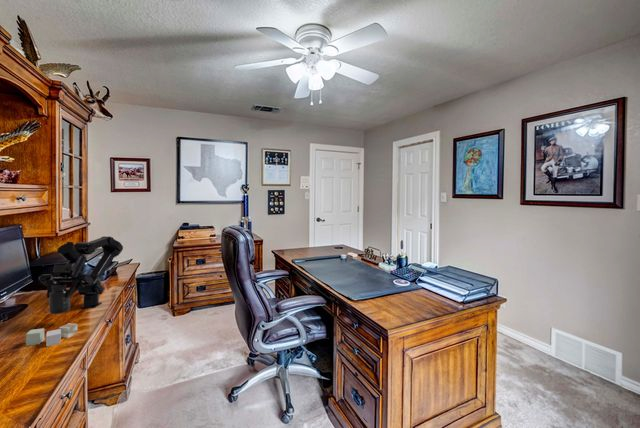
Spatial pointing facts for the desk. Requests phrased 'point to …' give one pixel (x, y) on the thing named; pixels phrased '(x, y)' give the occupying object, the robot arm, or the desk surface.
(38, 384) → the desk surface
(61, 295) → the supplement bottle
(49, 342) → the grey plastic block
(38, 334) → the sage block
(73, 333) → the birch block
